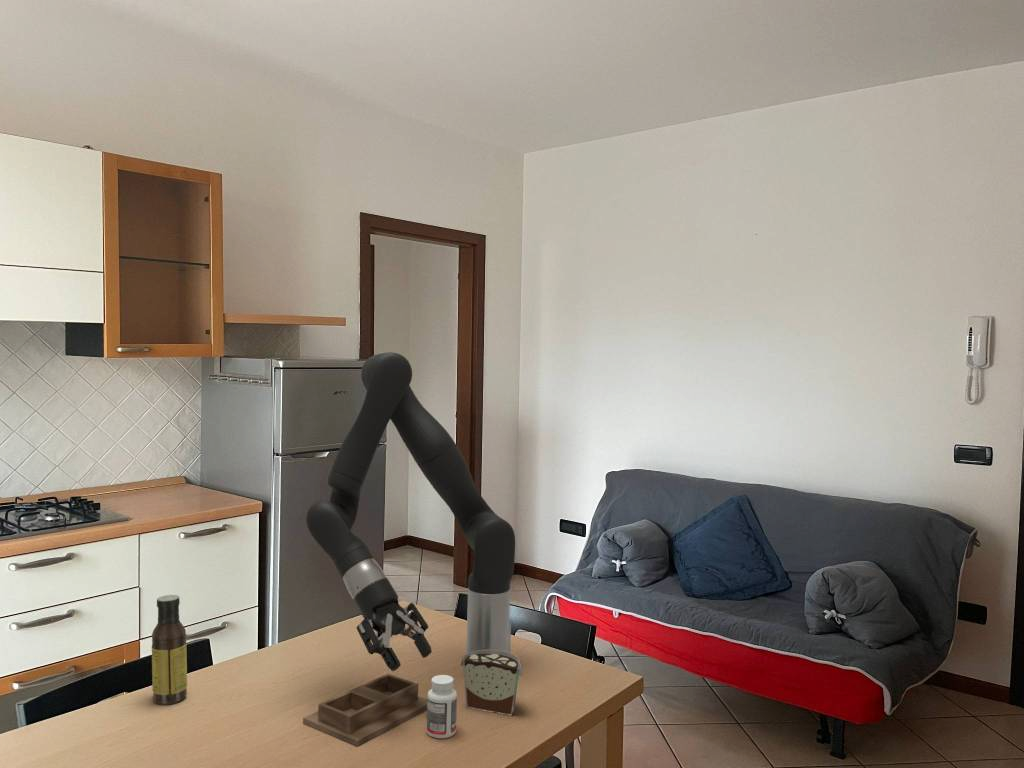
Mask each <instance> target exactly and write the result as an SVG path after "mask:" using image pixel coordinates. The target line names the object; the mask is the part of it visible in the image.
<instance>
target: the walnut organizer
mask: <svg viewBox="0 0 1024 768" xmlns="http://www.w3.org/2000/svg"><path fill="white" fill-rule="evenodd" d="M317 705H318V709H317V710H318V711H315V712H313V713H311V714H309V715H306V716H304V717H302V724H304V725H306V726H308V727H310V728H313V729H315V730H318V731H320V732H322V733H324V734H326V735H330V736H332V737H334V738H336V739H339V740H341V741H344V742H346V743H348V744H350V745H354V747H355V746H356V747H359V746H361V745H363V744H365V743H367V742H368V741H370V740H372V739H374V738H376V737H378V736H380V735H382V734H384V733H385V732H387V731H389V730H391V729H393V728H395V727H397V726H398V725H401V724H402V723H405V722H407V721H408V720H410V719H412V718H414V717H416V716H418V715H419V714H421V713H424V712H425V711H427V698H425V697H424V698H423V697H421V696H419V683H416V682H413V681H411V680H408V679H405V678H402V677H399V676H396V675H393V674H391V673H390V674H389V673H386V674H384V675H382V676H380V677H377V678H375V679H372V680H370V681H367V682H365V683H364V684H361V685H359V686H357V687H355V688H352V689H349V690H348V691H346V692H343V693H340V694H339V695H336V696H333V697H332V698H330V699H327V700H326V701H323V702H320V703H318V704H317Z"/></svg>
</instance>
